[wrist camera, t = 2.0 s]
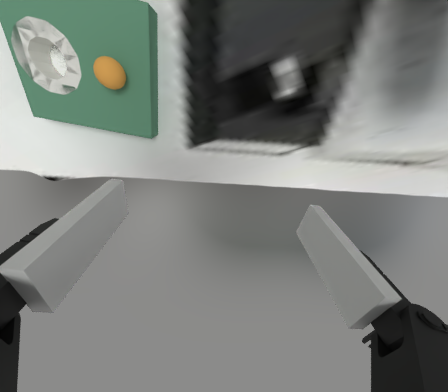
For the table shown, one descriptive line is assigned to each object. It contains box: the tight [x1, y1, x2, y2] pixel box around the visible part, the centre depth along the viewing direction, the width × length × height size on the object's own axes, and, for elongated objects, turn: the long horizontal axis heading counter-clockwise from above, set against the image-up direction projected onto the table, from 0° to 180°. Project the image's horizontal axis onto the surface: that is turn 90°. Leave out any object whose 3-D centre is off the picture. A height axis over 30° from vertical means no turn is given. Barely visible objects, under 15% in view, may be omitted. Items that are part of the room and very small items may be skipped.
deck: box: [0, 0, 158, 139], centre depth 28 cm, size 18×20×4 cm
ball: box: [93, 56, 126, 90], centre depth 25 cm, size 4×4×4 cm
